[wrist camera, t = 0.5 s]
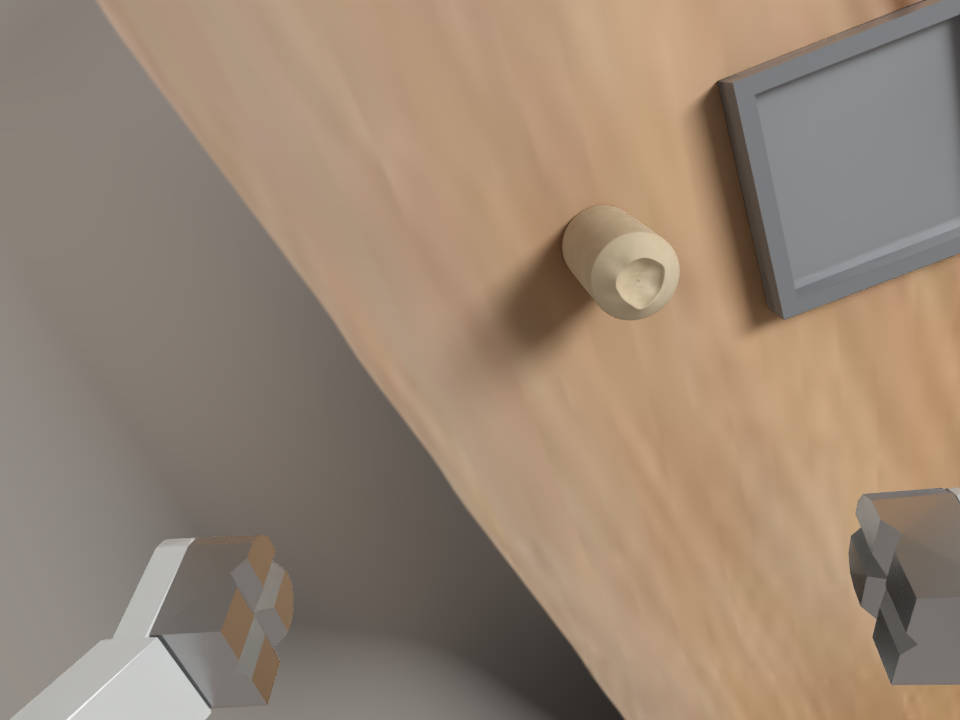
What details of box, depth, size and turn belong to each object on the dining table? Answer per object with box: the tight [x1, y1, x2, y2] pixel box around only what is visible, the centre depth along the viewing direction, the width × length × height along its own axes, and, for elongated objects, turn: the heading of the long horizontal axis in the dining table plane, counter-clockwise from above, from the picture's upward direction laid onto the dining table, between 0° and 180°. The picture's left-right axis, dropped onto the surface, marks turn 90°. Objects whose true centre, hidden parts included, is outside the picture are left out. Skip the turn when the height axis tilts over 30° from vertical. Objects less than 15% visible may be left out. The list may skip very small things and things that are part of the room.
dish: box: [717, 0, 960, 320], centre depth 53 cm, size 17×17×2 cm
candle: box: [562, 205, 680, 320], centre depth 49 cm, size 6×6×10 cm
